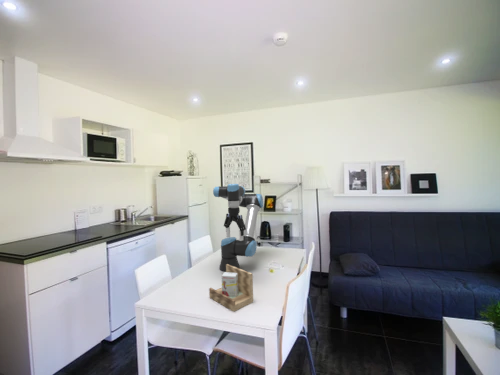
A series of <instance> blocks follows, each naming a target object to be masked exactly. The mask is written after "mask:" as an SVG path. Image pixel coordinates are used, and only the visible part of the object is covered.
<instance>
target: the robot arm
mask: <svg viewBox="0 0 500 375" xmlns="http://www.w3.org/2000/svg"><path fill="white" fill-rule="evenodd" d="M212 192H213V196H214V197H215V198H221V199H224V200H227V207H228V209H227V211H228V213H226V214H225V220H224V223H223V227H225V232H226V235H225V236H226V237H225V238H223V239H222V240H221V242H220V250H221V253H220V254H221V260H220V262H219V271H221V272H223V273H224V272H226V265H227V264H229V265H231V266H234V267H237V268H239V269H240V263H239V260H238V258H237V257H246V258H248V257H253V256H255V254H256V251H257V247H258V246H257V245H258V243H257V241H256V239H255V232H256V225H257V221H258V220H257V219H258V214H259V212H260V211H261V209H262V208H264V198H263V195H262V193H246V188H245V187H244V186H243V185H239V183H229V184H227V186H225V185H224V186H215V187H213V191H212ZM240 208H245V209H247V212H246V218H245V222H244V219H243V215H242V214H240V211H241V210H240ZM239 214H240V215H239ZM233 222H235V223H236V225H237V227H238V229H239V230H238V232H239V235H238V236H239V239H237V237H235V236H231V227H230V226H231V224H232V223H233Z"/></svg>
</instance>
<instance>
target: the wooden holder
mask: <svg viewBox="0 0 500 375" xmlns="http://www.w3.org/2000/svg"><path fill="white" fill-rule="evenodd" d="M226 272H230V273H238V295H237V296H236V297H232V296H226V295H224V294H222V287H220V288H217V289H214V288H212V287H210V288H208V291H209V293H208V294H209V298H210V299H211V300H213V301H215V302H216V303H218V304H220V305H222V306H223V307H225V308H226V309H228V310H230V311H231V312H236V311H237V310H240V309H242V308H244V307H246V306H248V305H250V304H252V303H253V302H254V284H253V283H254V282H253V281H254V280H253V278H254V276H253V273H252V272H250V271H247V270H244V269H241V268H240V267H239V268H237V267H234V266H231V265H229V264H227V265H226Z"/></svg>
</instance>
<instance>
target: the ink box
mask: <svg viewBox="0 0 500 375" xmlns="http://www.w3.org/2000/svg"><path fill="white" fill-rule="evenodd" d="M221 288H222V294H224V295H226V296H232V297H236V296H237V295H238V273H230V272H224V271H223V273H222V275H221Z"/></svg>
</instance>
